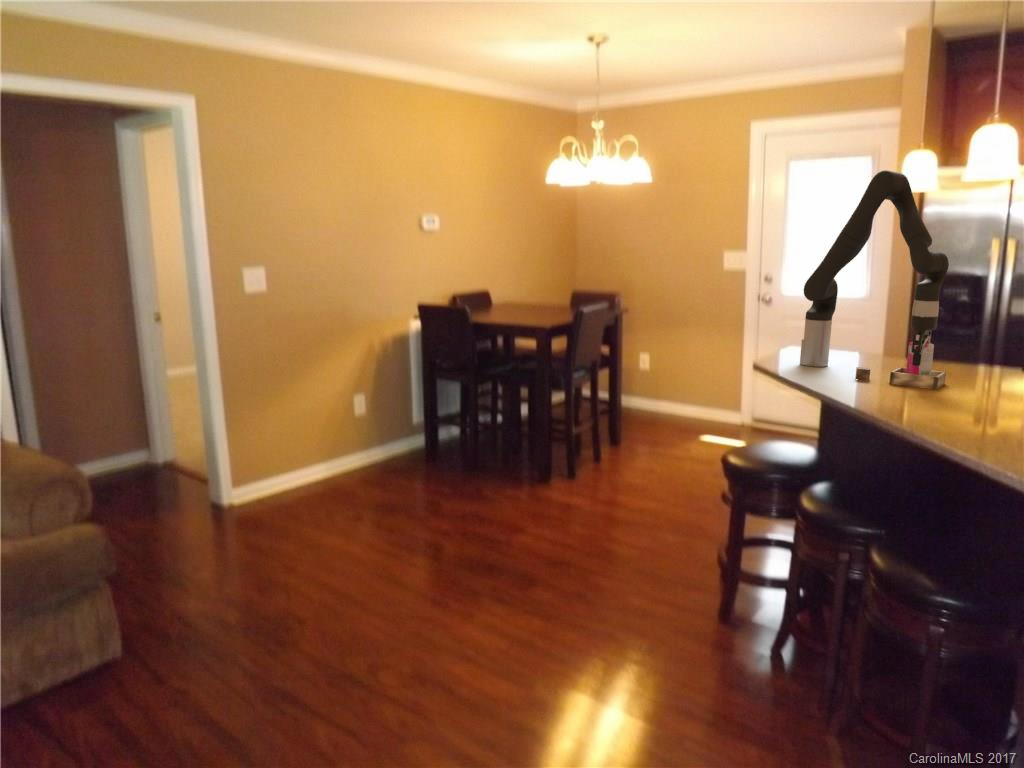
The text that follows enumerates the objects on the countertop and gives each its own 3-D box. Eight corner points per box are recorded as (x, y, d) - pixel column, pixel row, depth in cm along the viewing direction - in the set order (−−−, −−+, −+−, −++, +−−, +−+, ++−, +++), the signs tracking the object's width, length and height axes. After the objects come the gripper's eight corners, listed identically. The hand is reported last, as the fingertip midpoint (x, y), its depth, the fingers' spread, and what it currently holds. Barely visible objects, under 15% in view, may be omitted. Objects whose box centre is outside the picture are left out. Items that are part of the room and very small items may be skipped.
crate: (889, 383, 249) (890, 372, 248) (898, 378, 258) (899, 367, 257) (936, 389, 240) (938, 377, 239) (944, 384, 249) (946, 372, 248)
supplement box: (923, 375, 251) (927, 341, 249) (930, 379, 245) (935, 344, 243) (904, 375, 252) (908, 341, 249) (912, 378, 246) (916, 344, 243)
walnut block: (856, 380, 255) (857, 368, 254) (855, 378, 258) (856, 367, 258) (869, 381, 253) (870, 369, 253) (868, 379, 257) (869, 367, 256)
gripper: (917, 311, 252) (911, 359, 255) (906, 315, 241) (901, 365, 245) (942, 313, 247) (936, 362, 251) (932, 317, 236) (926, 368, 240)
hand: (919, 363), depth 248 cm, fingers closed on supplement box, 8 cm apart
